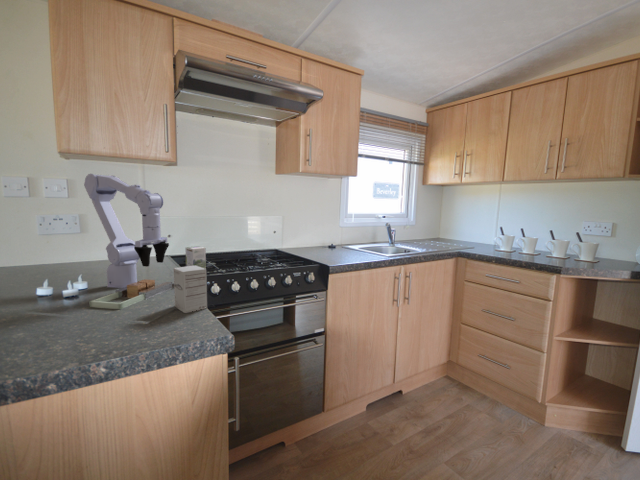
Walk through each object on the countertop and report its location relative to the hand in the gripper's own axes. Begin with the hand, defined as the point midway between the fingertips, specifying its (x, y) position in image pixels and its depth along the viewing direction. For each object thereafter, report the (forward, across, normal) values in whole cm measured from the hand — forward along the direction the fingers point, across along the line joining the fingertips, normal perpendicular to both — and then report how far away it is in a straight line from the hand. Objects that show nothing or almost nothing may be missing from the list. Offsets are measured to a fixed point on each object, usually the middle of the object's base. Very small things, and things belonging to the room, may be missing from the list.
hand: (153, 264), depth 116 cm
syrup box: (+10, +15, -8) cm, 20 cm away
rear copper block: (+9, -4, 0) cm, 10 cm away
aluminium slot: (+10, -5, 0) cm, 11 cm away
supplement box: (+10, -15, -24) cm, 30 cm away
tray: (+10, -17, 0) cm, 19 cm away
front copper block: (+9, -9, 0) cm, 13 cm away
